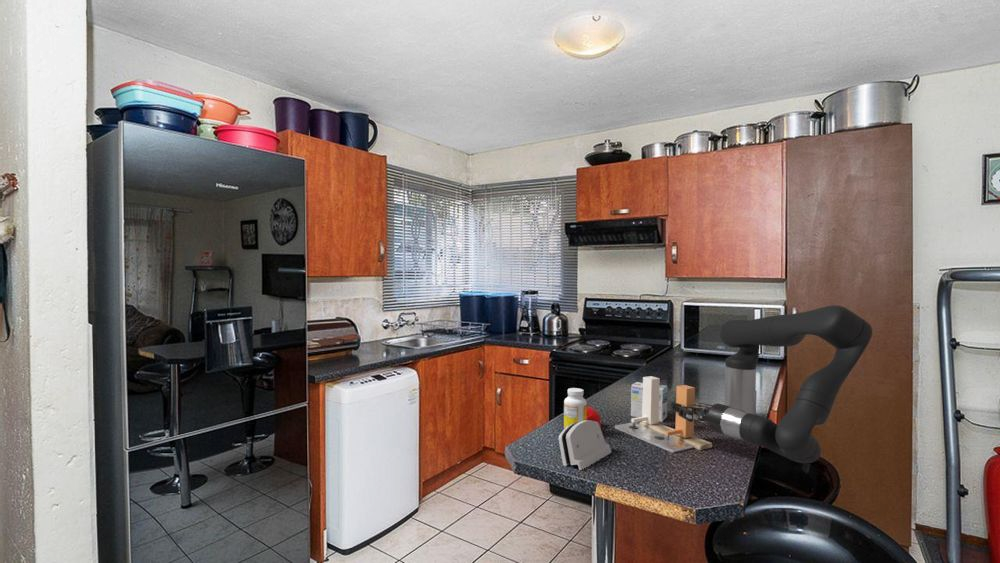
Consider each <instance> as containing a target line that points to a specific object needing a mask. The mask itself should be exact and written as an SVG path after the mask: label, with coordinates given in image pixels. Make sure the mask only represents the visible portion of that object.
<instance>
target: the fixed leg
mask: <svg viewBox="0 0 1000 563" xmlns="http://www.w3.org/2000/svg"><path fill="white" fill-rule="evenodd" d="M660 379H661V378H660V377H656V376H652V375H650V376H643V377H642V383H643V399H642V417H632V418H631V419H630V421H631V422H632V426H633V427H635V423H640V422H645V423H647V424H650V425H652V424H657V423H660V421H659V386H660V384H661V382H660ZM631 422H630V423H631Z"/></svg>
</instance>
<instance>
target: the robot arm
mask: <svg viewBox="0 0 1000 563" xmlns="http://www.w3.org/2000/svg"><path fill="white" fill-rule="evenodd" d="M807 335H809V336H811V335H812V336H816V337H818V338H820V339H822V340H823V341H825V342H826V343H828V344H830V345H831V346H832V347H834V348H835V353H834V356H833V358H832V360H831V361H830V362H829V363H828V364H827V365H826V366H824V367H822V368H820V369H819V370H816V371H815V372H813V373H812V374H810V375H809V376H807V378H806V379H805V380H804V381H803V383H802V384H801V386H800V388H799V390H798V393H797V395H796V398H795V400H794V403H793V405H792V406H791V407H790V409H789V410H787V412H786V413H785V414H784V416H782V418H781V419H780V420H779V422H778V424H777V423H776V422H774V421H773V420H772V419H770V418H767V417H764V416H761V415H759V414H758V415H757V390H756V386H757V384H756V383H757V381H756V380H757V365H758V362H759V359H760V358H759V355H760V346H766V347H774V348H775V347H778V348H779V347H781V348H782V347H783V348H784V347H794V346H796V345H798V344H800V343H801V342H802V341H803V340H804V338H805V337H806V336H807ZM719 336H720V339H721V341H722V343H723V344H724V345H726V346H727V347H730V348H739V349H738V351H737V352H736V353H734V354H732V355H730V356H728V357H726V358H725V368H724V369H725V371H724V373H725V374H724V376H725V377H724V404H723V403H715V404H713V405H712V404H709V403H702V402H700V403H697V402H695V406H693V405H692V406H685V405H681V404H678V403H676V401H674V402H671V404H670V409H671V411H674V412H676V411H677V412H679V416H680V417H682V418H684V419H686V420H687V421H689V422H693V419H694V421H695V420H696V421H698V422H700V423H703V424H705V423H706V424H707V426H708V428H709V430H711V431H712V432H715V433H718V434H721V435H722V436H723V435H724V436H726V437H729V438H732V439H735V440H741V441H744V442H748V443H750V444H753V445H756V446H759V447H762V448H765V449H767V450H769V451H771V452H773V453H775V454H777V455H780V456H781V457H784V458H786V459H787V460H791V461H793V462H796V463H800V464H811V463H814V462H816V461H818V459H819V458H820V456H821V455H822V448H821V445H820V443H819V442H818V440H817V438H815V437H814V435H813V434H812V432H813V429H814V428H815V426H821V425H823V424H825V423H826V422H827V420H828V418H829V416H830V415H831V411H832V408H833V406H834V404H835V401H836V398H837V396H838V394H839V392H840V389H841V387H842V386H843V385H844V382H845V381H846V379H847V378H848V376H849V375H850V374H851V372H852V370H853V369H854V368H855V366H856V365H857V363H858V361H859V359H860V358H861V357H862V355H863V354H864V352H865V351H866V350H867V347H868V346H869V344H870V342H871V339H872V336H873V327H872V325H871V324H870V323H868V322H867V321H866V320H865V319H863V318H862V317H860V315H857V314H856V313H854V312H853V311H851V310H850V309H848V308H847V307H845V306H842V305H835V304H834V305H826V306H823V307H822V306H821V307H819V308H815V309H811V310H806V311H802V312H797V313H796V312H795V313H789V314H778V315H771V316H764V317H759V318H756V319H755V318H754V319H750V320H748V319H747V320H745V319H743V320H742V319H730V320H727V321H725V322H724V323H723V324H722V325H721V327H720V329H719ZM693 409H694V414H693Z"/></svg>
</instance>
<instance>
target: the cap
mask: <svg viewBox="0 0 1000 563" xmlns="http://www.w3.org/2000/svg"><path fill="white" fill-rule="evenodd" d="M586 420H587V421H596V422H598V423H599V426H600V429H601V428H602V424H601V416H600V414H599V413H598V411H596V410H595V409H594V408H592V407H590V406H587V410H586Z"/></svg>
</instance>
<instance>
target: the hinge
mask: <svg viewBox="0 0 1000 563" xmlns="http://www.w3.org/2000/svg"><path fill="white" fill-rule="evenodd" d="M558 443H559V449H560V455H561V461H562V465H563V467H564V466H565V467H566V466H569V465H570V466H578V471H580V470H582V469H583V470H585V469H586V467H587V468H588V467H590V466H592V465H593V464H595V463H596V461H597V462H599V461H600V460H601V458H602V459H603V458H605V457H606V456H608V455H611V453H612V449H611V445H610V444H609V443H607V442H606V440H605V438H604V434H603V431H602V429H601V428H600V426H599V423H598V422H596V421H592V420H590V421H587V420H586V421H579V422H576V423H573V424H571V425H569V426H568V427H566V428H565V429H564V428H563V430H562V431H561V432H560V434H559V435H558ZM591 464H592V465H591ZM584 468H585V469H584ZM583 470H582V471H583Z"/></svg>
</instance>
